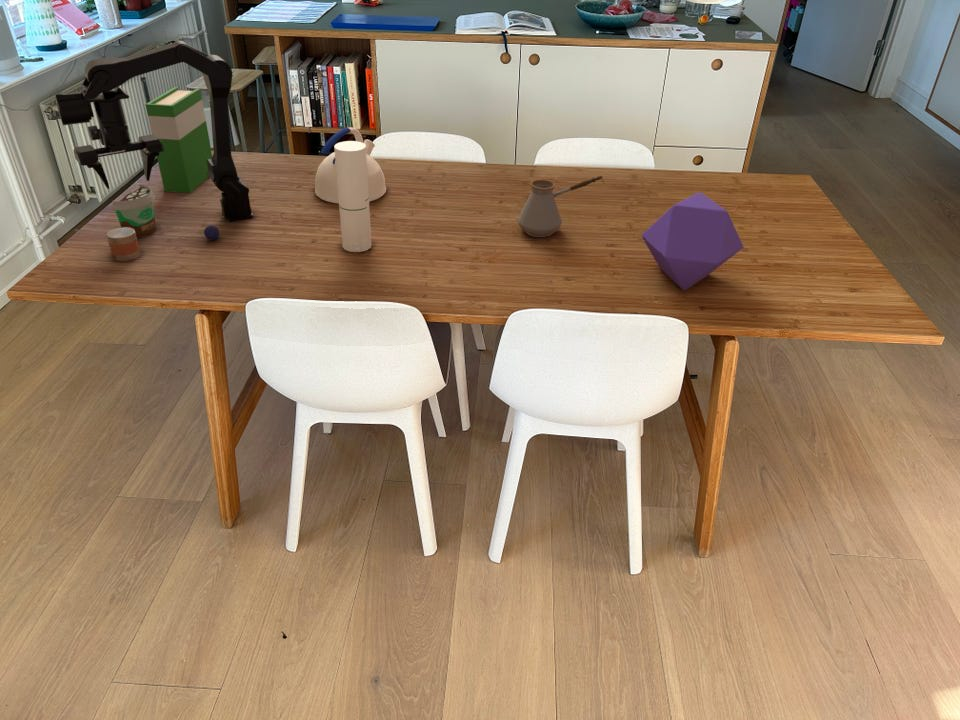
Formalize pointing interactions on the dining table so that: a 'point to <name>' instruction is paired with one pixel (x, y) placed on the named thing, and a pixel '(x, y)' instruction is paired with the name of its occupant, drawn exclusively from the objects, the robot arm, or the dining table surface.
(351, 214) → the cylindrical container
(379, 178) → the kettle
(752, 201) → the dining table surface
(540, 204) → the coffee pot
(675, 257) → the purple faceted block
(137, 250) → the tin can
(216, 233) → the blue ball
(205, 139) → the hardback book
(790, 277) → the dining table surface
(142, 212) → the food container
